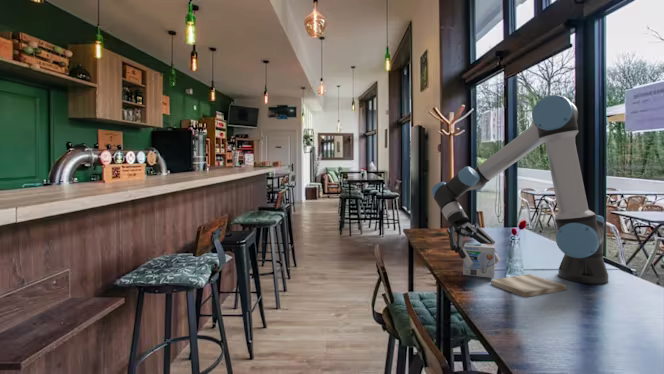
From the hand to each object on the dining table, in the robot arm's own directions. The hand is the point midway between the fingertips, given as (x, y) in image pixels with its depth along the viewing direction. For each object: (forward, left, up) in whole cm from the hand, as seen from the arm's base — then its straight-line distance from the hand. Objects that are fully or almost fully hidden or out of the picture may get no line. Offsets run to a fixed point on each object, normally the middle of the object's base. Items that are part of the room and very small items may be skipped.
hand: (484, 263), depth 138 cm
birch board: (-7, +12, -6) cm, 15 cm away
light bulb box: (0, -3, -5) cm, 5 cm away
